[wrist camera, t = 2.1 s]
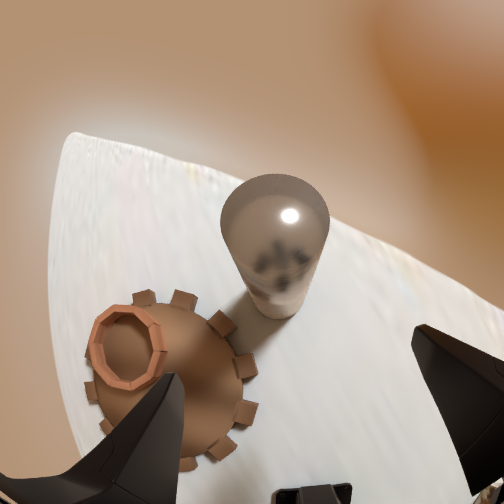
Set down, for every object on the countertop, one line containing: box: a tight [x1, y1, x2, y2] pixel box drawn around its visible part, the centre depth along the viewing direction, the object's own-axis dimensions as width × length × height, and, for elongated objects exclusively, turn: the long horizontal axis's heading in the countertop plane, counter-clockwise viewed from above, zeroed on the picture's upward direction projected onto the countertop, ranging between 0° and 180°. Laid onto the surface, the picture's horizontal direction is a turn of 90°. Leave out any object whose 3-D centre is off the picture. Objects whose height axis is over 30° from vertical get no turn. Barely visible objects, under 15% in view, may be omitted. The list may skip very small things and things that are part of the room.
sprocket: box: [84, 289, 259, 471], centre depth 19 cm, size 16×16×3 cm
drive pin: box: [220, 174, 330, 319], centre depth 17 cm, size 4×4×13 cm
